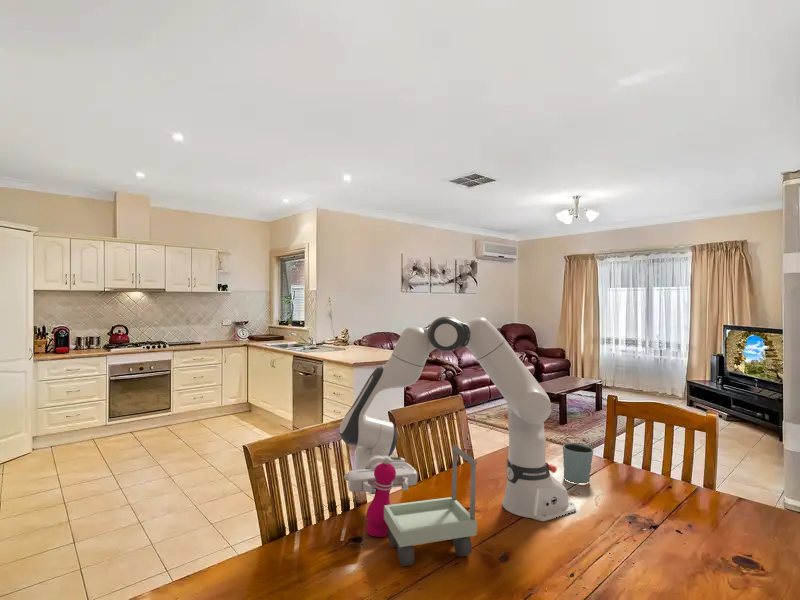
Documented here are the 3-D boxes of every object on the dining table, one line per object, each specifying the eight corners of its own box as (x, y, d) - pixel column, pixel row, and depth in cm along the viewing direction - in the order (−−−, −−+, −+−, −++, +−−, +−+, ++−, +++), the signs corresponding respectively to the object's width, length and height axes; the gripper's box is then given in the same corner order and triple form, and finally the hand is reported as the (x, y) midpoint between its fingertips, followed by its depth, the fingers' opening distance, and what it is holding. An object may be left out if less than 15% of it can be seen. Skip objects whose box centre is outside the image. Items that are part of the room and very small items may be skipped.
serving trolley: (452, 529, 124) (454, 443, 124) (476, 559, 110) (479, 461, 110) (382, 540, 118) (384, 449, 118) (399, 572, 104) (401, 469, 104)
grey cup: (556, 476, 164) (557, 444, 164) (579, 474, 167) (579, 442, 167) (574, 488, 154) (575, 453, 154) (598, 485, 157) (599, 451, 157)
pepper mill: (386, 540, 118) (396, 464, 118) (360, 534, 119) (370, 459, 120) (393, 528, 125) (402, 457, 125) (368, 522, 126) (377, 452, 127)
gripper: (343, 463, 132) (352, 482, 119) (408, 457, 138) (424, 474, 125) (342, 484, 132) (352, 505, 119) (407, 477, 138) (423, 496, 125)
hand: (389, 489), depth 122 cm, fingers open, 8 cm apart
